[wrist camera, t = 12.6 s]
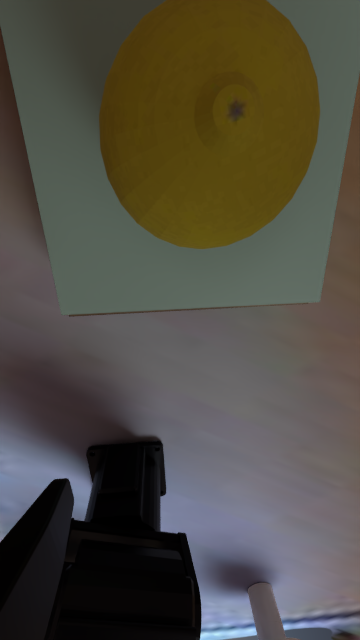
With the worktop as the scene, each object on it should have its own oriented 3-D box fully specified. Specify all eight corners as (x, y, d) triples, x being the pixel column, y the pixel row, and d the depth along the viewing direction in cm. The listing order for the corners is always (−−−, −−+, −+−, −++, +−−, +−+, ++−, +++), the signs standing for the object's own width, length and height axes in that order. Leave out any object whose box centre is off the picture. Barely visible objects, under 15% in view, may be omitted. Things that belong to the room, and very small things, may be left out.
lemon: (179, 257, 13) (203, 332, 6) (91, 151, 11) (-29, 72, 4) (279, 173, 12) (459, 139, 5) (200, 39, 10) (298, -341, 3)
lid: (310, 295, 16) (319, 302, 15) (67, 307, 15) (61, 315, 14) (364, -45, 10) (384, -69, 10) (-4, -46, 10) (-21, -71, 9)
